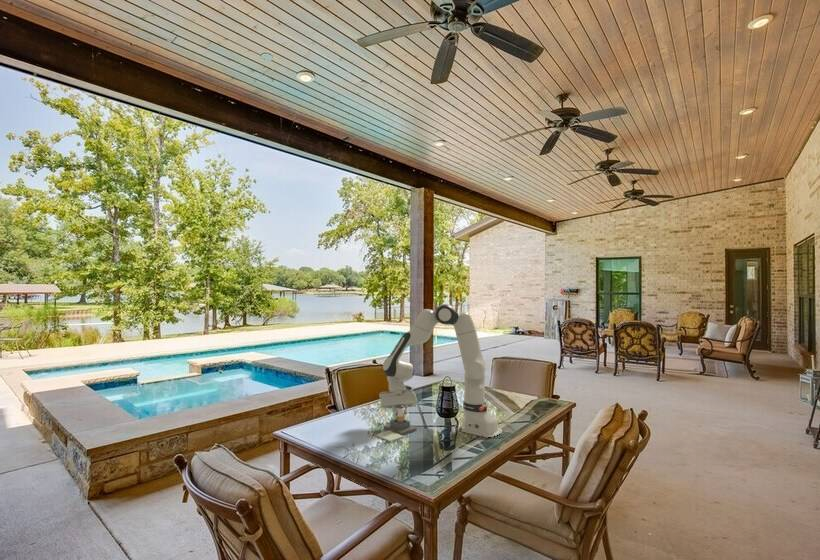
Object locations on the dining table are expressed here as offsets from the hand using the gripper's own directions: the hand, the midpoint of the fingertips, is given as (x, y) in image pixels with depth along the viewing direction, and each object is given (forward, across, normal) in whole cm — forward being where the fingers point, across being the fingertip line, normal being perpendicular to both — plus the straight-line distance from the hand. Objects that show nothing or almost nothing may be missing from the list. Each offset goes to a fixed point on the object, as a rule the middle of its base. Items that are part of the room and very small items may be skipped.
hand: (400, 414), depth 213 cm
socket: (+5, 0, +6) cm, 8 cm away
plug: (+3, 0, +4) cm, 5 cm away
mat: (+12, -8, 0) cm, 14 cm away
